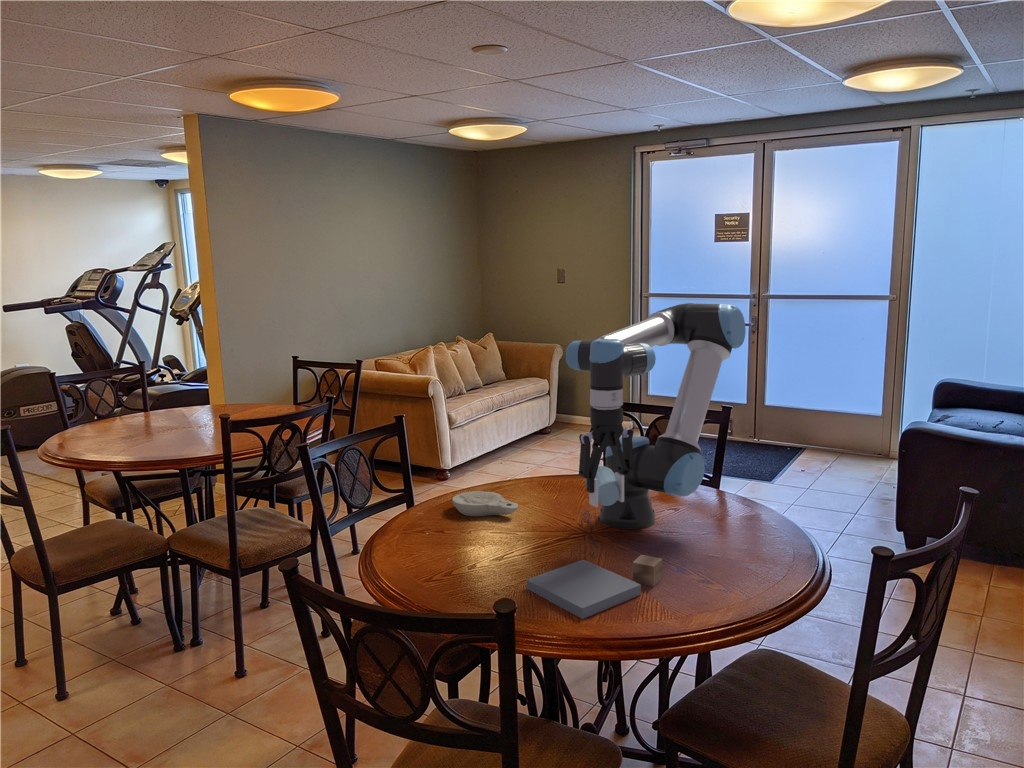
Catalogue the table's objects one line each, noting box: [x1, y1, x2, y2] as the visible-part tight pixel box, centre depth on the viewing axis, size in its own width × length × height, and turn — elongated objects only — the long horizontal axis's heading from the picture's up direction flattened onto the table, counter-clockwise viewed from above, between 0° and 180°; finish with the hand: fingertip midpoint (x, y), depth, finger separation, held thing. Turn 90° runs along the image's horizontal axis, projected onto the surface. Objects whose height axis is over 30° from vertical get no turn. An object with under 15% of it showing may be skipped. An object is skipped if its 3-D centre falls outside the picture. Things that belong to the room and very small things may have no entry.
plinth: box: [525, 559, 642, 620], centre depth 160 cm, size 18×17×2 cm
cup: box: [584, 465, 619, 506], centre depth 177 cm, size 8×8×10 cm
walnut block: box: [632, 554, 663, 588], centre depth 165 cm, size 5×5×5 cm
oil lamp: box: [451, 490, 519, 517], centre depth 211 cm, size 21×14×5 cm
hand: (606, 502), depth 173 cm, fingers closed on cup, 6 cm apart
